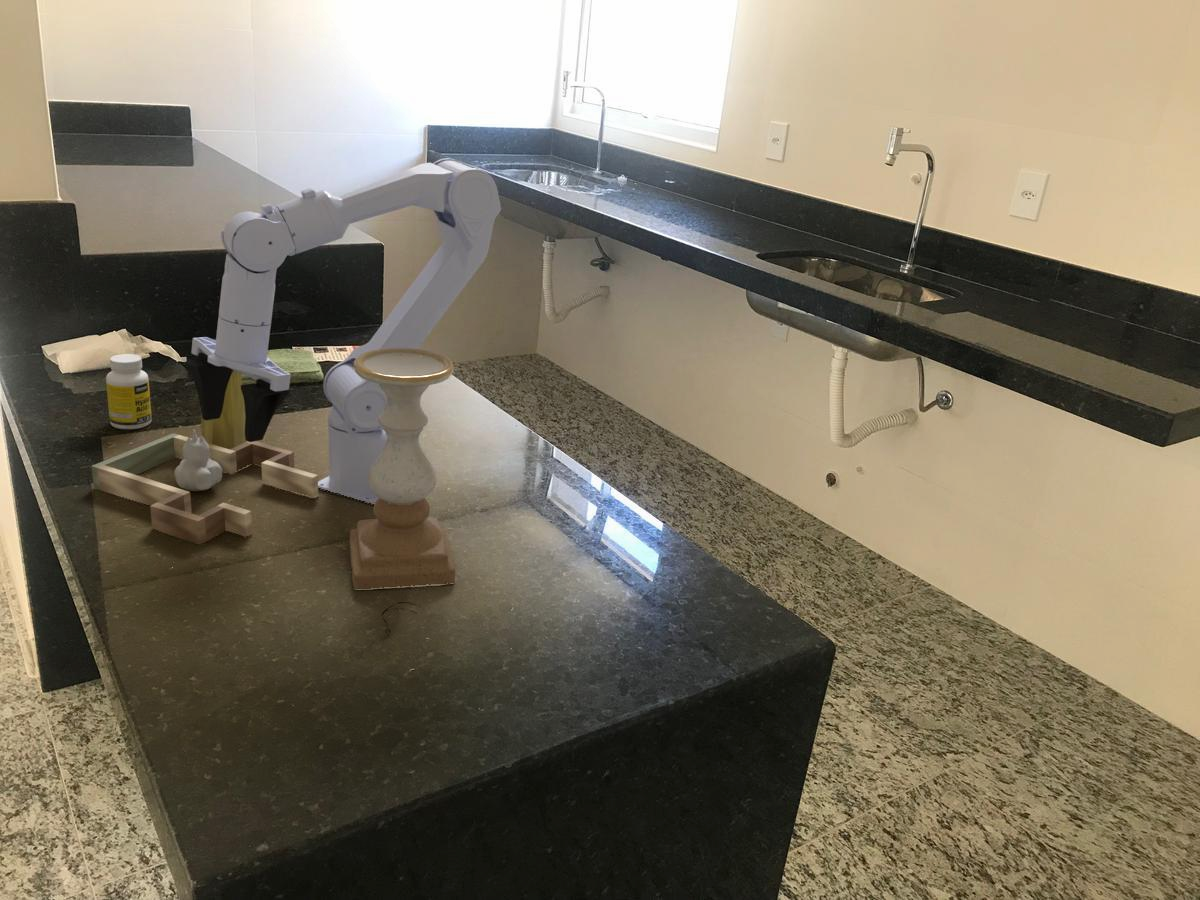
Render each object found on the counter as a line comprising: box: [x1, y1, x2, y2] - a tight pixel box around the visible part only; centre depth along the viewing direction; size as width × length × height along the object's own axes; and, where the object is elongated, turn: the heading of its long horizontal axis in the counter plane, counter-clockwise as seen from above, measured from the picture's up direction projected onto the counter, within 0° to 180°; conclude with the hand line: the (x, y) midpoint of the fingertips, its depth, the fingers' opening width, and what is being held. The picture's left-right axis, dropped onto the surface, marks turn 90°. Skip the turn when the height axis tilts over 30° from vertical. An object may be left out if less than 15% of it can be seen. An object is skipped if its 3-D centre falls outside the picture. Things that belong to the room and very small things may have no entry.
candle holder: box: [349, 348, 456, 589], centre depth 105 cm, size 11×11×24 cm
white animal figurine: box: [173, 429, 223, 492], centre depth 120 cm, size 5×7×8 cm
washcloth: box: [241, 348, 325, 385], centre depth 162 cm, size 13×18×3 cm
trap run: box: [91, 432, 319, 546], centre depth 121 cm, size 24×21×3 cm
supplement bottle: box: [105, 353, 153, 430], centre depth 137 cm, size 5×5×10 cm
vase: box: [200, 370, 248, 449], centre depth 132 cm, size 6×6×14 cm
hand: (232, 429), depth 116 cm, fingers open, 7 cm apart
